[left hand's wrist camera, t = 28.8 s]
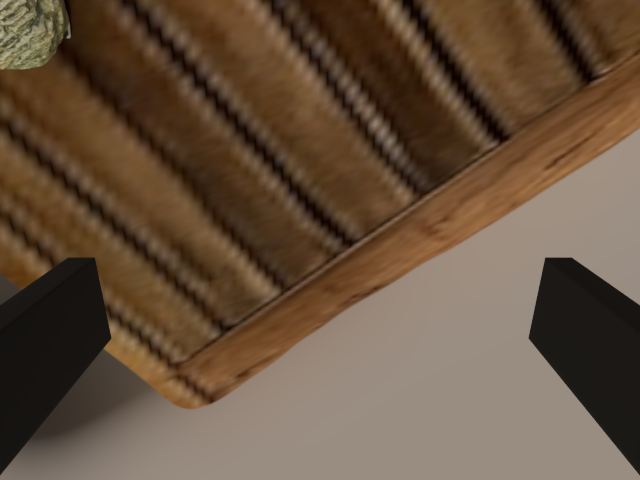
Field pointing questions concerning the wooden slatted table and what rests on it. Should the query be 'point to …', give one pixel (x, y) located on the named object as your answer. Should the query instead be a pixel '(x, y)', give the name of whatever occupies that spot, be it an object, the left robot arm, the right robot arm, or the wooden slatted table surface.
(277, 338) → the wooden slatted table surface
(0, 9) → the fossil
